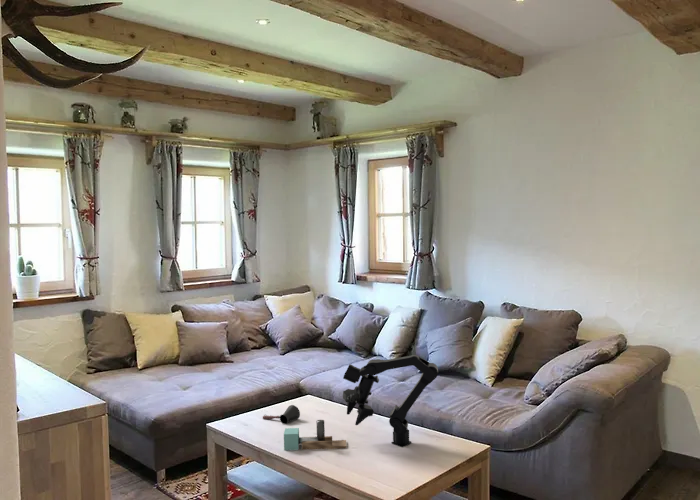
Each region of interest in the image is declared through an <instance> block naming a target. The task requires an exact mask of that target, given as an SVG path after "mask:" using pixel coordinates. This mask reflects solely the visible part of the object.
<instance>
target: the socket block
mask: <svg viewBox="0 0 700 500" xmlns="http://www.w3.org/2000/svg"><path fill="white" fill-rule="evenodd" d="M298 437H300V427H288V428H284V431H283V451H299V445H300V444H298Z"/></svg>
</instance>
